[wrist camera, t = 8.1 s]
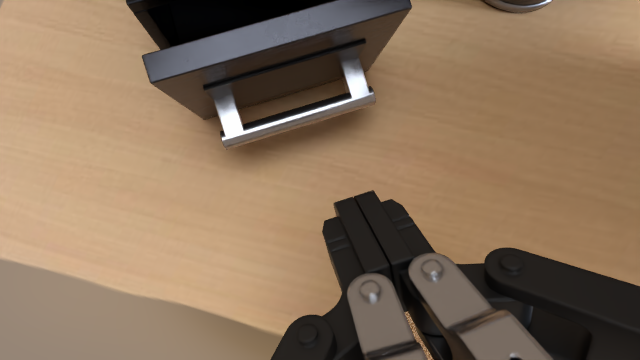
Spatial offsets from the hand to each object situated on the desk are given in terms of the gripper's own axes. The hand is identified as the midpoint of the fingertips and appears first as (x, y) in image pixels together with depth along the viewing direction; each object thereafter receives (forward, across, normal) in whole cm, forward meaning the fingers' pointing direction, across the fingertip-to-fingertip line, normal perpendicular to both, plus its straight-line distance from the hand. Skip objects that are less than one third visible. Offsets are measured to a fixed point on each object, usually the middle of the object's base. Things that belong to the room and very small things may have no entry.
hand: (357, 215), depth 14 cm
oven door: (+21, 0, -4) cm, 21 cm away
